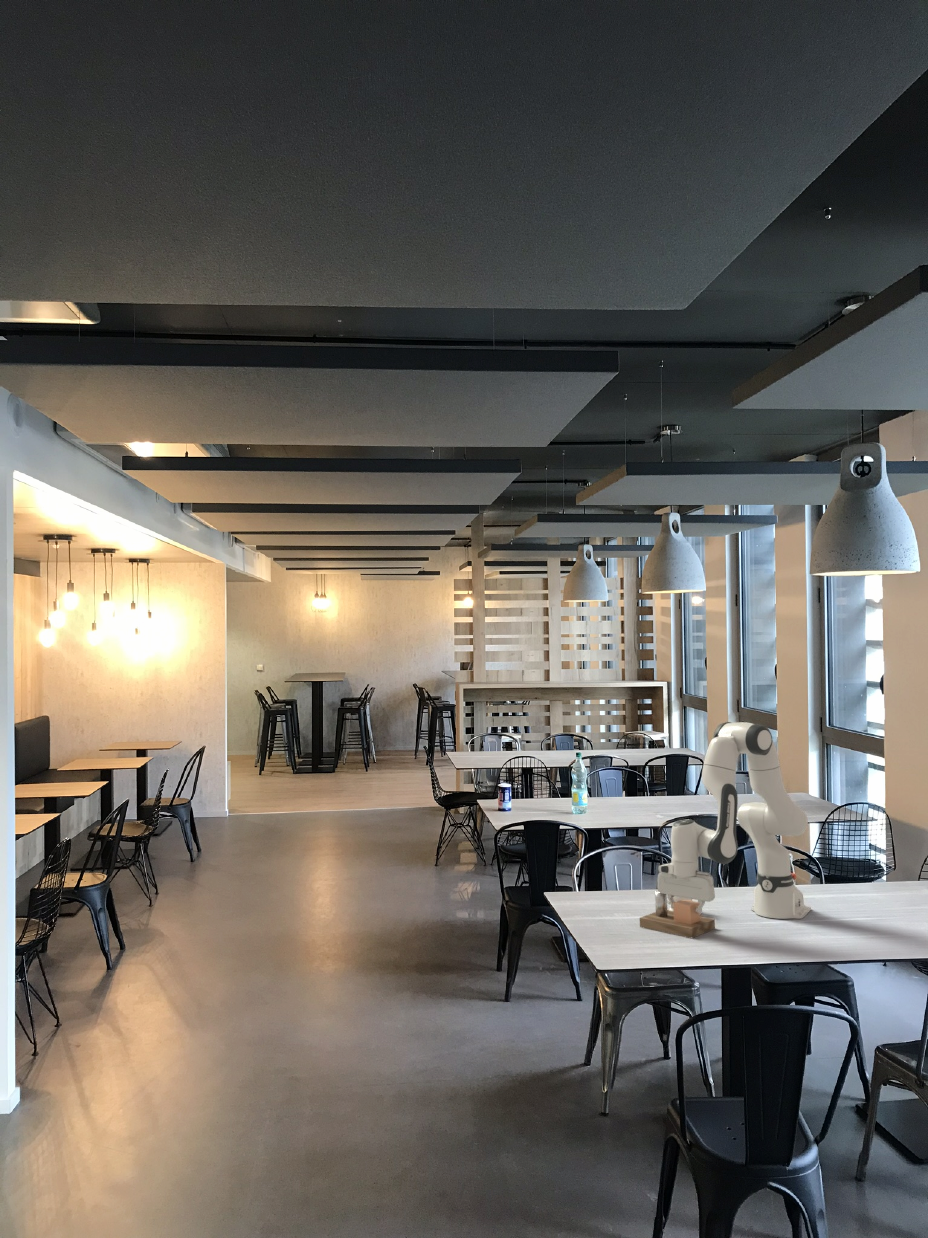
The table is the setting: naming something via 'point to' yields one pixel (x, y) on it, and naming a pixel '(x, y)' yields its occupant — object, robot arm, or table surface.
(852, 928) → the table surface
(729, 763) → the robot arm
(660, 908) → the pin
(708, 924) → the board
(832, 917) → the table surface
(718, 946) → the table surface
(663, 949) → the table surface
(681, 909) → the tan wooden block
